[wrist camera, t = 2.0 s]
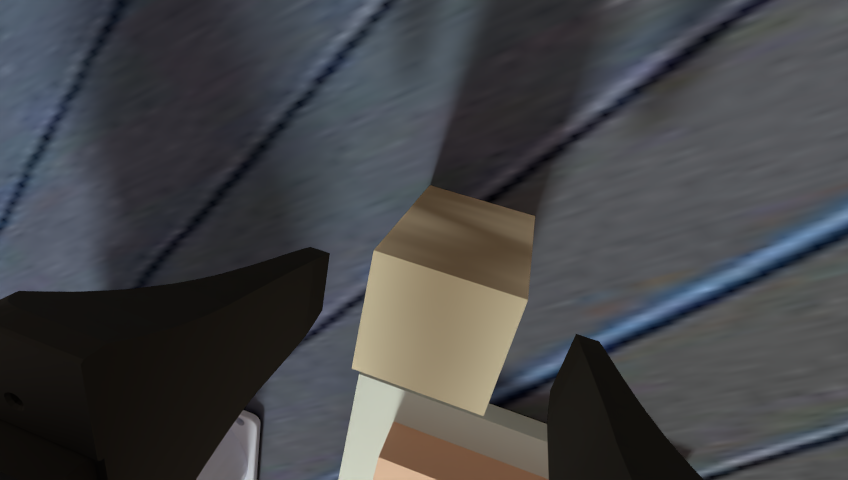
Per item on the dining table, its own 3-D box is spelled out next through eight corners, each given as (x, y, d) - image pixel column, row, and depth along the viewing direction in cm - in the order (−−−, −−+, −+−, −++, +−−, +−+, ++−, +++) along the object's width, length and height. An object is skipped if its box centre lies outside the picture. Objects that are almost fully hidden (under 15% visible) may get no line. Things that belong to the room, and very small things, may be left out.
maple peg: (408, 275, 18) (351, 368, 13) (429, 184, 17) (373, 250, 11) (503, 305, 18) (483, 416, 13) (535, 215, 16) (528, 300, 11)
